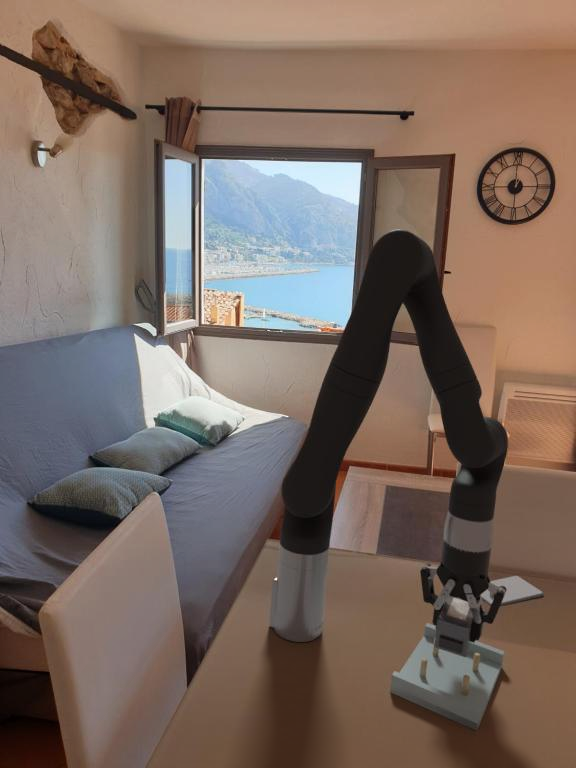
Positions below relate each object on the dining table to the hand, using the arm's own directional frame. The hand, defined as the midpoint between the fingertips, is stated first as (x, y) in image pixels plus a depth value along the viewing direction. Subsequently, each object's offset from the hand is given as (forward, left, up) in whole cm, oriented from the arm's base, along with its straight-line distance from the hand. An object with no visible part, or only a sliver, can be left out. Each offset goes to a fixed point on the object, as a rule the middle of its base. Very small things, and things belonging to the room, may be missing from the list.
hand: (455, 633), depth 99 cm
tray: (0, 0, -9) cm, 9 cm away
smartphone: (+2, +37, -9) cm, 38 cm away
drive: (0, 0, -1) cm, 1 cm away
